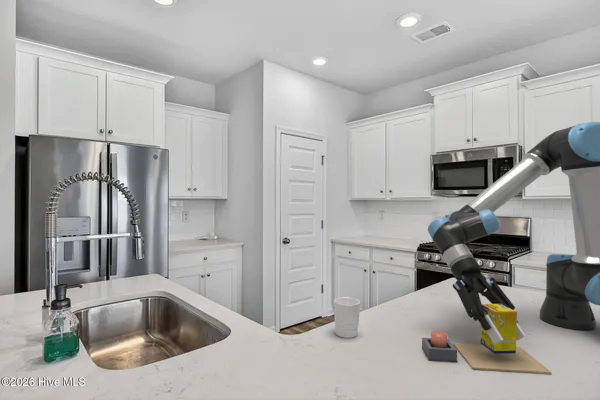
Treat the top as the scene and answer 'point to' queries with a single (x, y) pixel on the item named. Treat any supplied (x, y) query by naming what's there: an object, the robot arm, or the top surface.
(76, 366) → the top surface
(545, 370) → the thin tan board
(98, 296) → the top surface
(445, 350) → the button housing
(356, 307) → the white cup
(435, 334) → the button
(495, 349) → the supplement box
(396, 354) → the top surface
